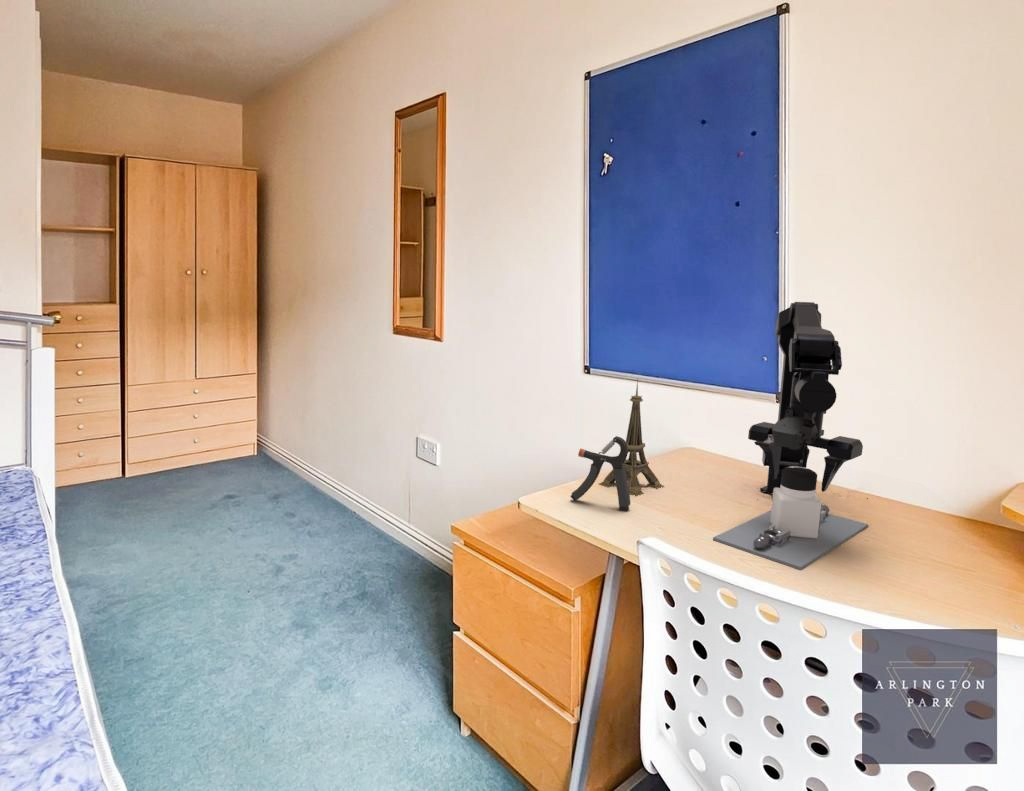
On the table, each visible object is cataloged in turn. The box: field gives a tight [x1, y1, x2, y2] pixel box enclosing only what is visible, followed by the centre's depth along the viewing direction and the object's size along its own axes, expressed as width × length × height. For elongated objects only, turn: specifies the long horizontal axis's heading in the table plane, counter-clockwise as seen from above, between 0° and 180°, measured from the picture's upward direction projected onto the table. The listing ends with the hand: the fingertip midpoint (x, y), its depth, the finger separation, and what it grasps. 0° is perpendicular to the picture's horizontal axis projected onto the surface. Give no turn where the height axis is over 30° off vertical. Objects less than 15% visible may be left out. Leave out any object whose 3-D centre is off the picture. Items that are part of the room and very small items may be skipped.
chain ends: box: [753, 504, 830, 550], centre depth 122 cm, size 29×4×2 cm, turn 132°
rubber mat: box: [712, 509, 869, 571], centre depth 122 cm, size 30×16×1 cm, turn 132°
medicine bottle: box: [770, 466, 823, 539], centre depth 121 cm, size 7×7×12 cm
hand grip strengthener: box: [570, 435, 631, 512], centre depth 133 cm, size 2×12×15 cm, turn 65°
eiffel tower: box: [598, 377, 665, 497], centre depth 146 cm, size 11×11×25 cm
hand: (798, 484), depth 121 cm, fingers open, 9 cm apart
